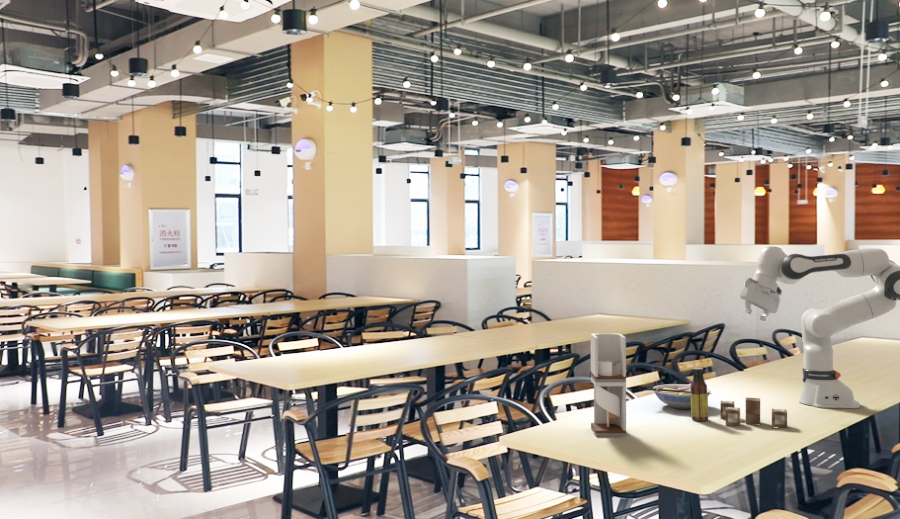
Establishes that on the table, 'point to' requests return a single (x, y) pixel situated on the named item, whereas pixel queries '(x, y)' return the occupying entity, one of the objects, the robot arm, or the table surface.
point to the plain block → (752, 410)
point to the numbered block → (779, 418)
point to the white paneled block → (723, 407)
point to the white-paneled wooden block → (732, 416)
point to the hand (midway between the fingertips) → (755, 316)
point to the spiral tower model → (609, 383)
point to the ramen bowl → (675, 394)
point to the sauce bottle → (699, 396)
